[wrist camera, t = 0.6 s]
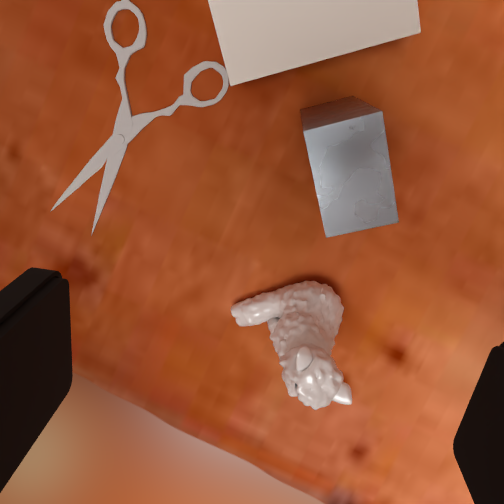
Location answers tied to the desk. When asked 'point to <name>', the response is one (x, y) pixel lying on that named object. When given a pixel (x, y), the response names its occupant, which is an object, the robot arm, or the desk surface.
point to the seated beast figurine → (302, 338)
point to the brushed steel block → (350, 165)
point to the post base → (303, 31)
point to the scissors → (125, 122)
